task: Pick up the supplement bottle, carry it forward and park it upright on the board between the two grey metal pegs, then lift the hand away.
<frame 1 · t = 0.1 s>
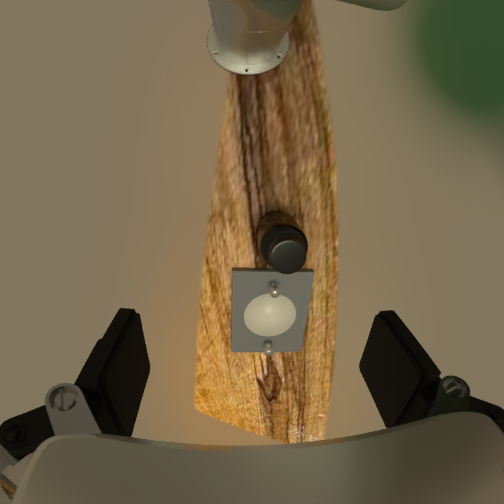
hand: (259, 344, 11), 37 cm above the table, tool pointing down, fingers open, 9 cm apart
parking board: (269, 312, 53), on the table
supplement bottle: (276, 229, 48), on the table
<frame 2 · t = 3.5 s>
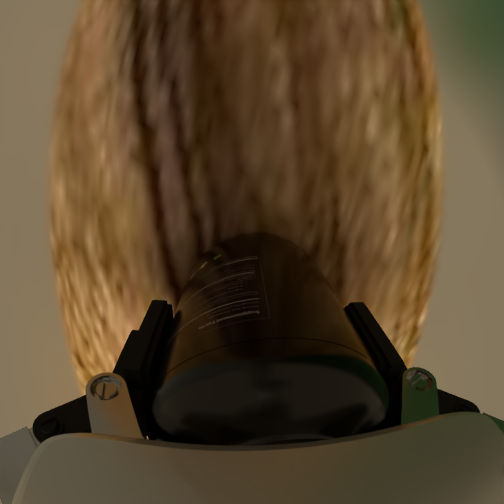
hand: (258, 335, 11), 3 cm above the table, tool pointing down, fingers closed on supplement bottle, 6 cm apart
supplement bottle: (253, 292, 14), on the table, touching gripper
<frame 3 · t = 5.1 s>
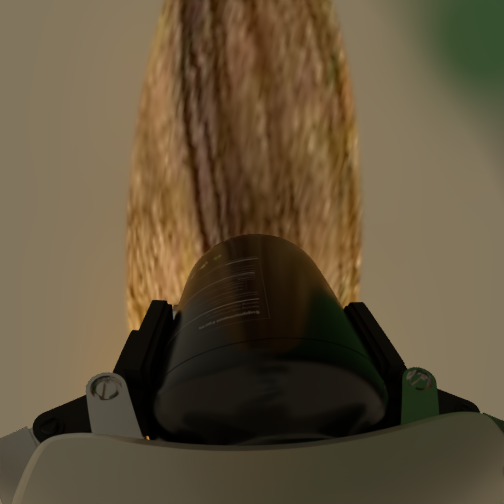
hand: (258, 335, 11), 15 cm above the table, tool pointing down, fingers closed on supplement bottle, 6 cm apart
supplement bottle: (253, 292, 14), point 12 cm above the table, touching gripper
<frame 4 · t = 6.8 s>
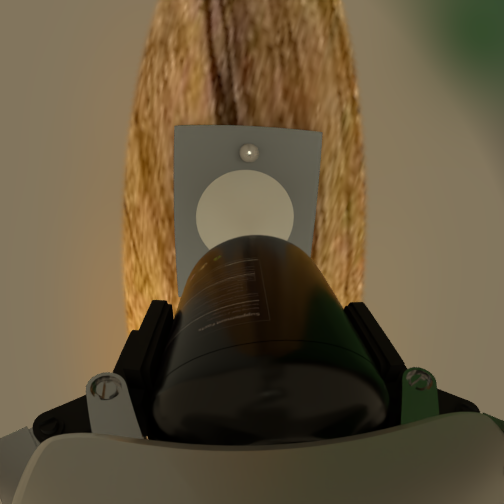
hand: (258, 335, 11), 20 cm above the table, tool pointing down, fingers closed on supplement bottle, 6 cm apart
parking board: (244, 215, 29), on the table
supplement bottle: (254, 293, 14), point 16 cm above the table, touching gripper
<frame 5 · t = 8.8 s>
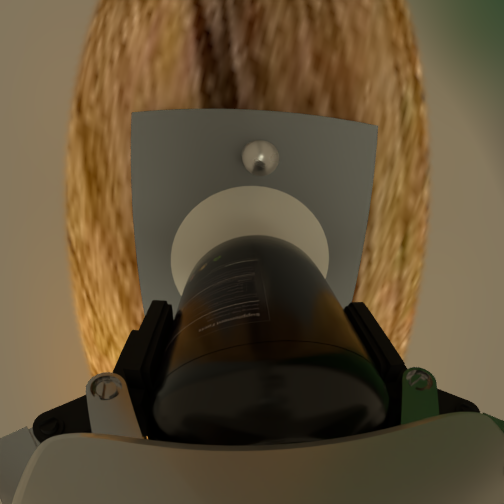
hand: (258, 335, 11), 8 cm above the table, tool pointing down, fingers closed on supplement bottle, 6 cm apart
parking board: (249, 258, 18), on the table
supplement bottle: (254, 293, 14), point 4 cm above the table, touching gripper
when the fingers open (6 cm above the table, at t = 10.3 s): supplement bottle stays where it is, resting on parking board.
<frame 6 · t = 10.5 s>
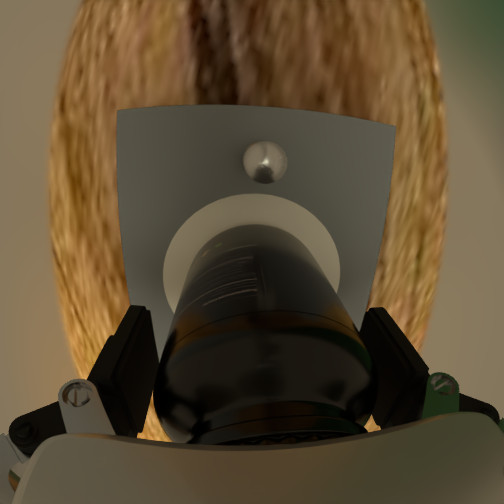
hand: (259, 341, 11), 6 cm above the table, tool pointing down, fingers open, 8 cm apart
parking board: (251, 273, 17), on the table
supplement bottle: (252, 280, 15), point 1 cm above the table, touching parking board
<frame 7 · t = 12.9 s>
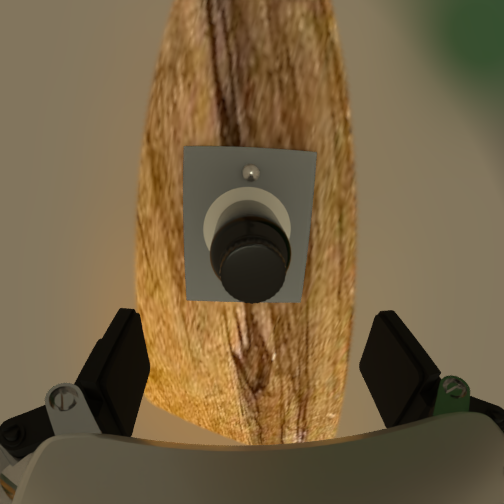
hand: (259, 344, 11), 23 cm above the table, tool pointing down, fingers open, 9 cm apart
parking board: (246, 227, 33), on the table
supplement bottle: (247, 228, 32), point 1 cm above the table, touching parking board
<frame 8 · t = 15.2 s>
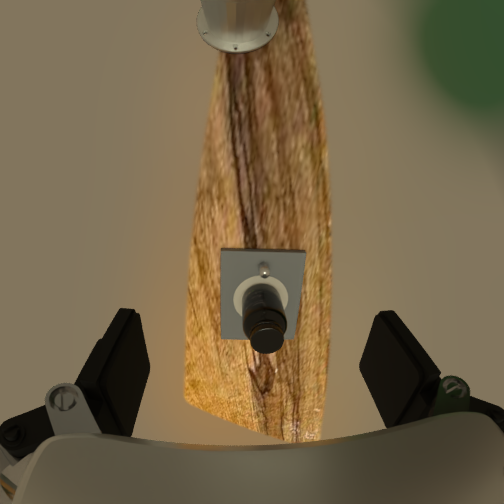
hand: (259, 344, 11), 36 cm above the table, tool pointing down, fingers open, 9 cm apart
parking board: (260, 296, 52), on the table
supplement bottle: (260, 298, 50), point 1 cm above the table, touching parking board
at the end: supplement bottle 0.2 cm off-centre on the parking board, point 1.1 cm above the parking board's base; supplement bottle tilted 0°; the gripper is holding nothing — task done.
